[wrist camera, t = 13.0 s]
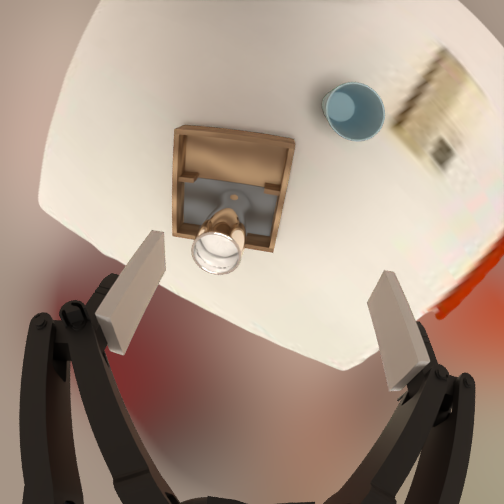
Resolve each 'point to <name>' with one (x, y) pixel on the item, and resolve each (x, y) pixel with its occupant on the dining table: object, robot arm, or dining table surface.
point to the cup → (354, 111)
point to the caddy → (230, 178)
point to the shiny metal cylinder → (222, 234)
